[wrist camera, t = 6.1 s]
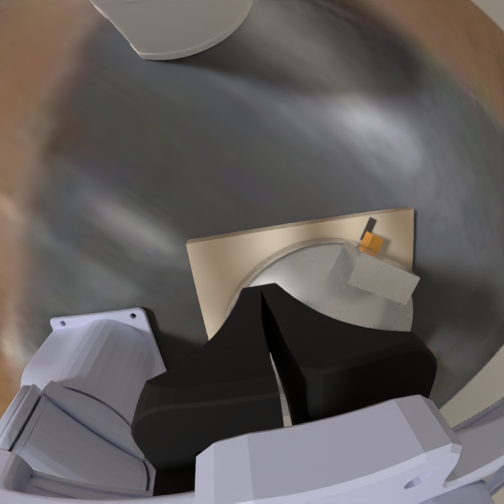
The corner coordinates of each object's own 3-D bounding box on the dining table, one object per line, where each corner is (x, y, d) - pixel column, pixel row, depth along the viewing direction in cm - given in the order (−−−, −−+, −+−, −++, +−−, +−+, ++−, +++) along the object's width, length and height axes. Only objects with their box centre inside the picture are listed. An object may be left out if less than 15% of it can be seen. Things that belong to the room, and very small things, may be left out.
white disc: (345, 405, 26) (360, 437, 22) (197, 377, 23) (194, 416, 19) (433, 263, 22) (466, 284, 18) (275, 190, 19) (289, 200, 15)
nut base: (230, 408, 26) (230, 416, 25) (187, 240, 21) (186, 244, 20) (393, 370, 27) (398, 377, 26) (407, 206, 22) (414, 209, 20)
